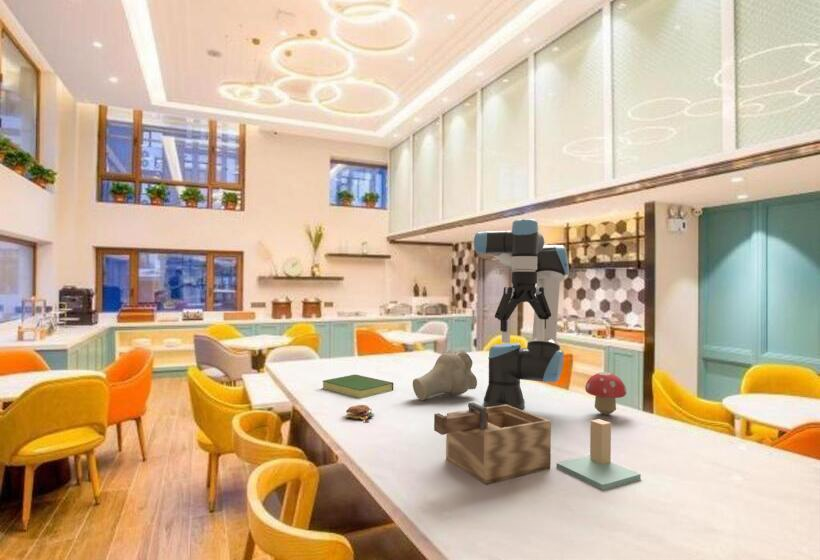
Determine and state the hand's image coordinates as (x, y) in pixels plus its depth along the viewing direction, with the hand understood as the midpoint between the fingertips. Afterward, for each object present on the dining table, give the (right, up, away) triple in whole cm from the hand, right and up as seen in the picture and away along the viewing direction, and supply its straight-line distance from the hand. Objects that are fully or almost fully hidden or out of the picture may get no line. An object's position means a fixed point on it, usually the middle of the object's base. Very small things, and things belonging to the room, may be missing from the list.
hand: (523, 341), depth 140 cm
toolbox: (-14, -28, -22) cm, 38 cm away
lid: (+12, -29, -26) cm, 41 cm away
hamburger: (-50, -29, +17) cm, 60 cm away
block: (-22, -16, -31) cm, 41 cm away
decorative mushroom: (+35, -29, +25) cm, 52 cm away
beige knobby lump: (-22, -29, +47) cm, 59 cm away
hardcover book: (-57, -29, +58) cm, 86 cm away
